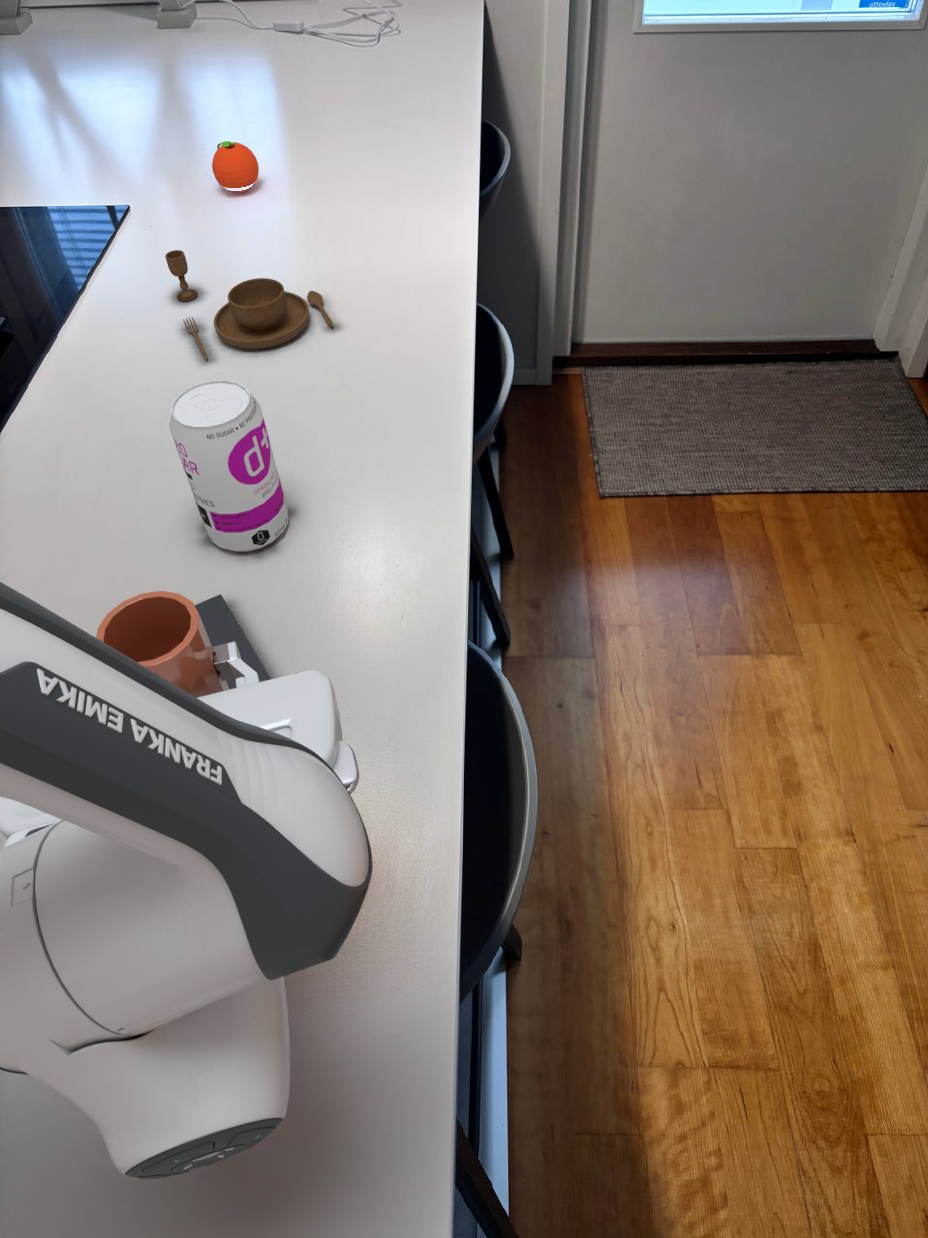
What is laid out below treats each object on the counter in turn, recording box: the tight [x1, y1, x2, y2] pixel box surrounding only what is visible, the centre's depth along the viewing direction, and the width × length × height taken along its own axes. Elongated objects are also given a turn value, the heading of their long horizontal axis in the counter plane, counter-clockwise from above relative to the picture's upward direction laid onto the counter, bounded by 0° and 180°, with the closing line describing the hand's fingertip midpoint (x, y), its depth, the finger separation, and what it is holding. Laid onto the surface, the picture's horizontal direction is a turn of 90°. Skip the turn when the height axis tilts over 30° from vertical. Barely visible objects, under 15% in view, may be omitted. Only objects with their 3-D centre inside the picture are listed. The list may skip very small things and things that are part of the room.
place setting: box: [164, 249, 334, 361], centre depth 120 cm, size 18×20×6 cm
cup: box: [95, 590, 229, 698], centre depth 61 cm, size 6×6×10 cm
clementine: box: [211, 140, 260, 194], centre depth 145 cm, size 8×7×7 cm
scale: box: [194, 593, 272, 690], centre depth 81 cm, size 15×13×4 cm
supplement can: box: [168, 379, 290, 553], centre depth 90 cm, size 8×8×15 cm
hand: (167, 663), depth 62 cm, fingers closed on cup, 6 cm apart
